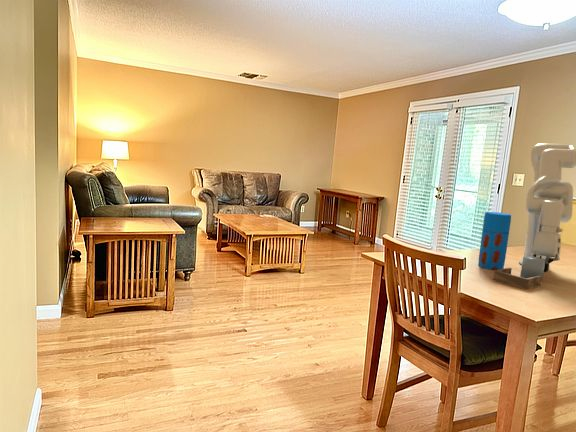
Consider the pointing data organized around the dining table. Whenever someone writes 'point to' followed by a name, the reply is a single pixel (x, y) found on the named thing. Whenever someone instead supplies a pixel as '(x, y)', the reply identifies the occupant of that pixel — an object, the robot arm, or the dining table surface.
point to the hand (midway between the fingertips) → (541, 271)
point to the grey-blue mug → (532, 267)
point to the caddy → (516, 279)
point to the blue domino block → (494, 240)
